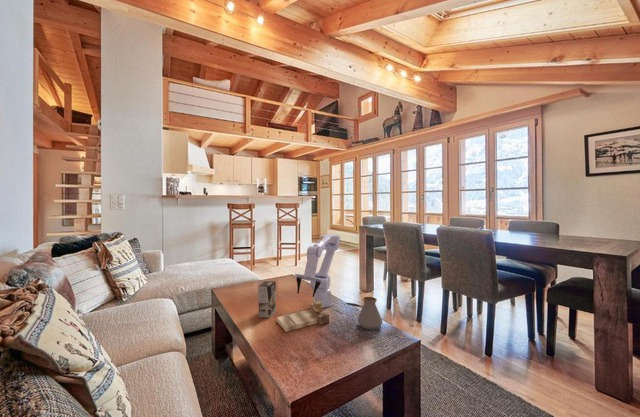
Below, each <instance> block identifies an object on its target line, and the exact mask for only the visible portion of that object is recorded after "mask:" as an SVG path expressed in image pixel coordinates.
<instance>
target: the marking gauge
mask: <svg viewBox="0 0 640 417" xmlns="http://www.w3.org/2000/svg"><path fill="white" fill-rule="evenodd" d="M312 303H313V305H311V306H310V307H309V308H310V309H311V310H313V311H314V312H315V313H316V314H318V323H317V324H319V325H324V324H328V323H330V314H329V313H328V312H326V313H324V312H323V308H322V303H321V302H320V301H314V300H313V301H312ZM310 309H309V310H310Z"/></svg>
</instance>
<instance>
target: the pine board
mask: <svg viewBox="0 0 640 417" xmlns="http://www.w3.org/2000/svg"><path fill="white" fill-rule="evenodd" d="M276 322H277V323H278V325H280V327H281V328H282V329H283V330H284V331H285V332H286V333H287V332H291V331H294V330H295V331H296V330H298V329H303V328H305V327H308V326H313V325H316V324H319V323H318V314H316V313H315V312H314V311H313V310H311V309H306V310H302V311H298V312H294V313H289V314H285V315H281V316H277V317H276Z"/></svg>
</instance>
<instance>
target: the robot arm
mask: <svg viewBox="0 0 640 417" xmlns="http://www.w3.org/2000/svg"><path fill="white" fill-rule="evenodd" d="M321 237H322V238H321V239H320V240H317V242H316V243H315V244H314V245H310V246H309V247H307V250H306V264H305V269H304V273H303V274H300V273H299V274H298V273H295V274H294V279H296V285H297V292H296V294H298V295H299V293H300V288H301V283H302V280H303V281H309V282H310V288H311V289H312V291H313V293H312V296H311V297H312V298H313V301H320V302H321V303H322V309H324V308H328V307H332V306H333V304H332V292H331V289H330V285H331V277H330V276H329V274H328V273H329V271H330V267H331V264H332V261H333V258H334V256H335V252H336V251H337V250H338V249H339V247H340V244H341V243H340V242H341V237H340V235H339V234H326V233H324V234H322V236H321ZM324 250H325V254H324V257H323V259H322V263H321V266H320V268H319V271H318V272H317V268H318V263H319V259H320V258H321V256H322V254H323V252H324ZM311 306H313V302H312V303H311Z"/></svg>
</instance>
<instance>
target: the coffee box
mask: <svg viewBox="0 0 640 417" xmlns="http://www.w3.org/2000/svg"><path fill="white" fill-rule="evenodd" d="M276 283H277V282H276V280H275V281H272V280H268V281H267V280H264V281H263V282H262V283H260V284H259V285H258V288H257V292H258V294H257V295H258V317H259V318H265V319H266V318H268V319H270V318H271V317H272V316H273V314H275V312H277V298H276V297H277V294H276V292H277V290H276Z"/></svg>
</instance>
